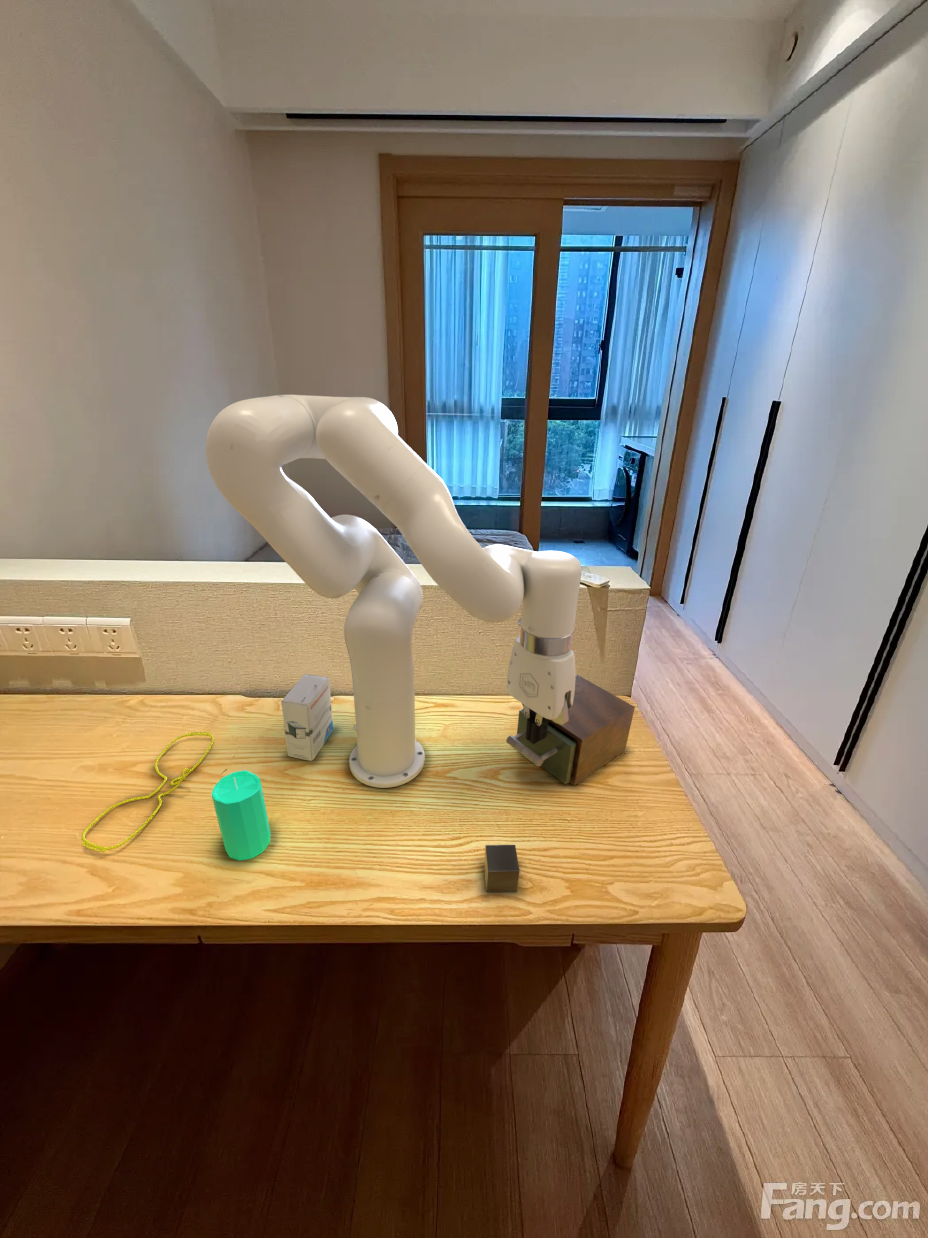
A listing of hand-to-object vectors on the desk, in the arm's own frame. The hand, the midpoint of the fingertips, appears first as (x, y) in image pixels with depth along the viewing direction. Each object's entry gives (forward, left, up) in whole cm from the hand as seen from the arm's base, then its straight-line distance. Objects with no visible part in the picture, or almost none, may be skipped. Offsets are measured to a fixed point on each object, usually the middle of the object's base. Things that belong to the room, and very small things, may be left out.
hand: (535, 738), depth 82 cm
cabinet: (0, +11, -8) cm, 13 cm away
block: (+11, -17, -8) cm, 22 cm away
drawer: (0, +6, -7) cm, 9 cm away
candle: (-15, -41, -8) cm, 45 cm away
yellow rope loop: (-33, -48, -8) cm, 59 cm away
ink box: (-29, -25, -8) cm, 39 cm away
